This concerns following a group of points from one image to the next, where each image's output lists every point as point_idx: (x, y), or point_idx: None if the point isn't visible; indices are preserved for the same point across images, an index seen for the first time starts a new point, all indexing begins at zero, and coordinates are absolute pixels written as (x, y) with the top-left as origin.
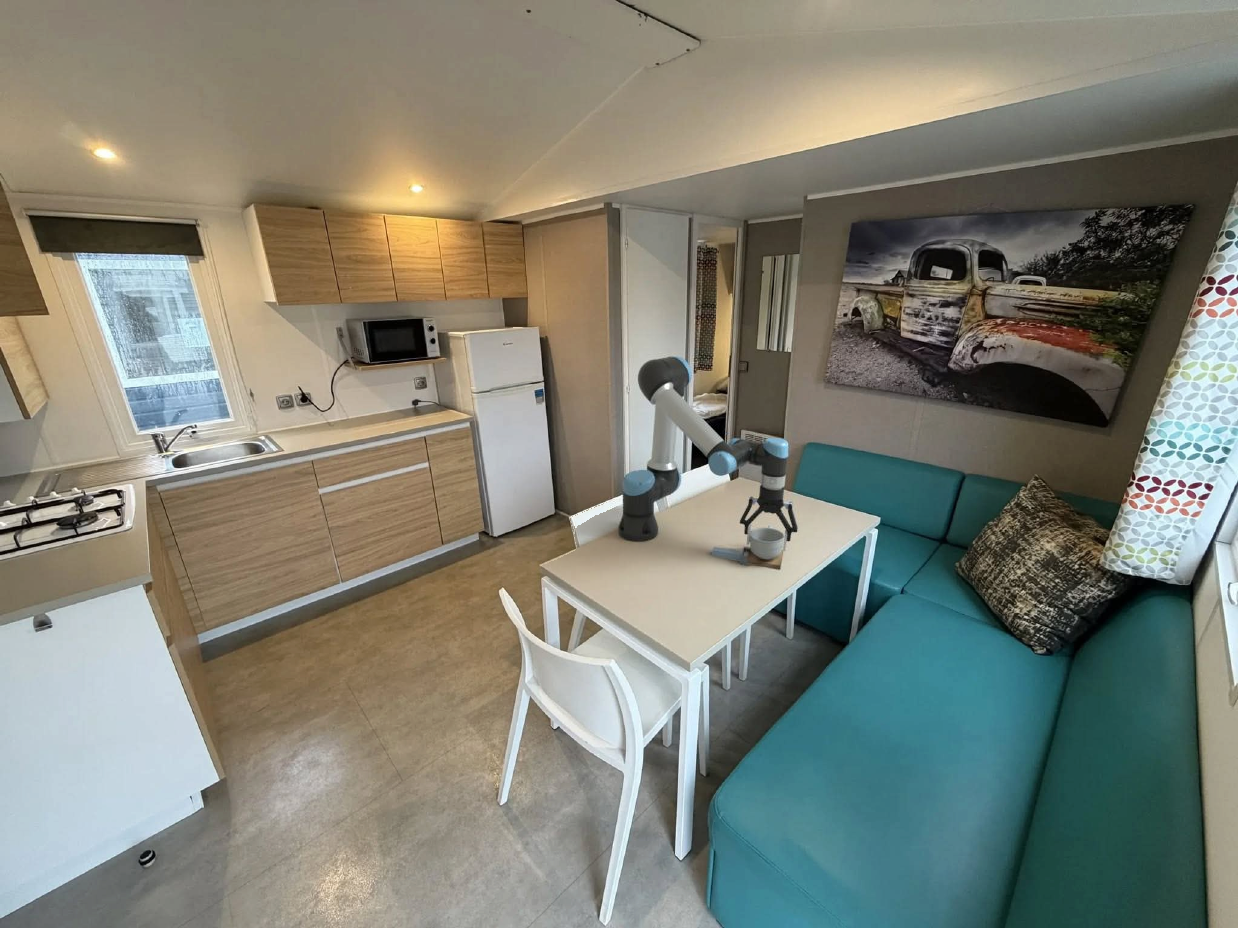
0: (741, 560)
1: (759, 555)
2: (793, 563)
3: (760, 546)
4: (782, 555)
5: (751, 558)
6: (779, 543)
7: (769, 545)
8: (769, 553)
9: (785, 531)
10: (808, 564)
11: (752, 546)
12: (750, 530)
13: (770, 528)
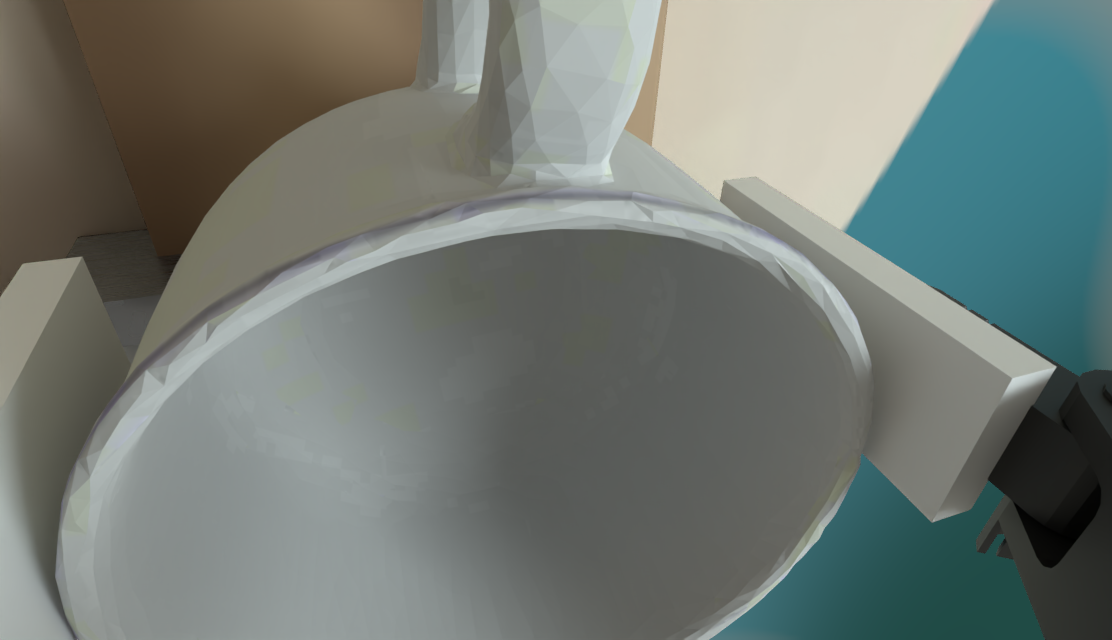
0: None
1: (409, 493)
2: (739, 168)
3: (441, 633)
4: (650, 141)
5: None
6: (728, 541)
7: (582, 633)
8: (547, 514)
9: (969, 456)
10: (880, 117)
11: (283, 557)
12: (24, 589)
13: (602, 223)
